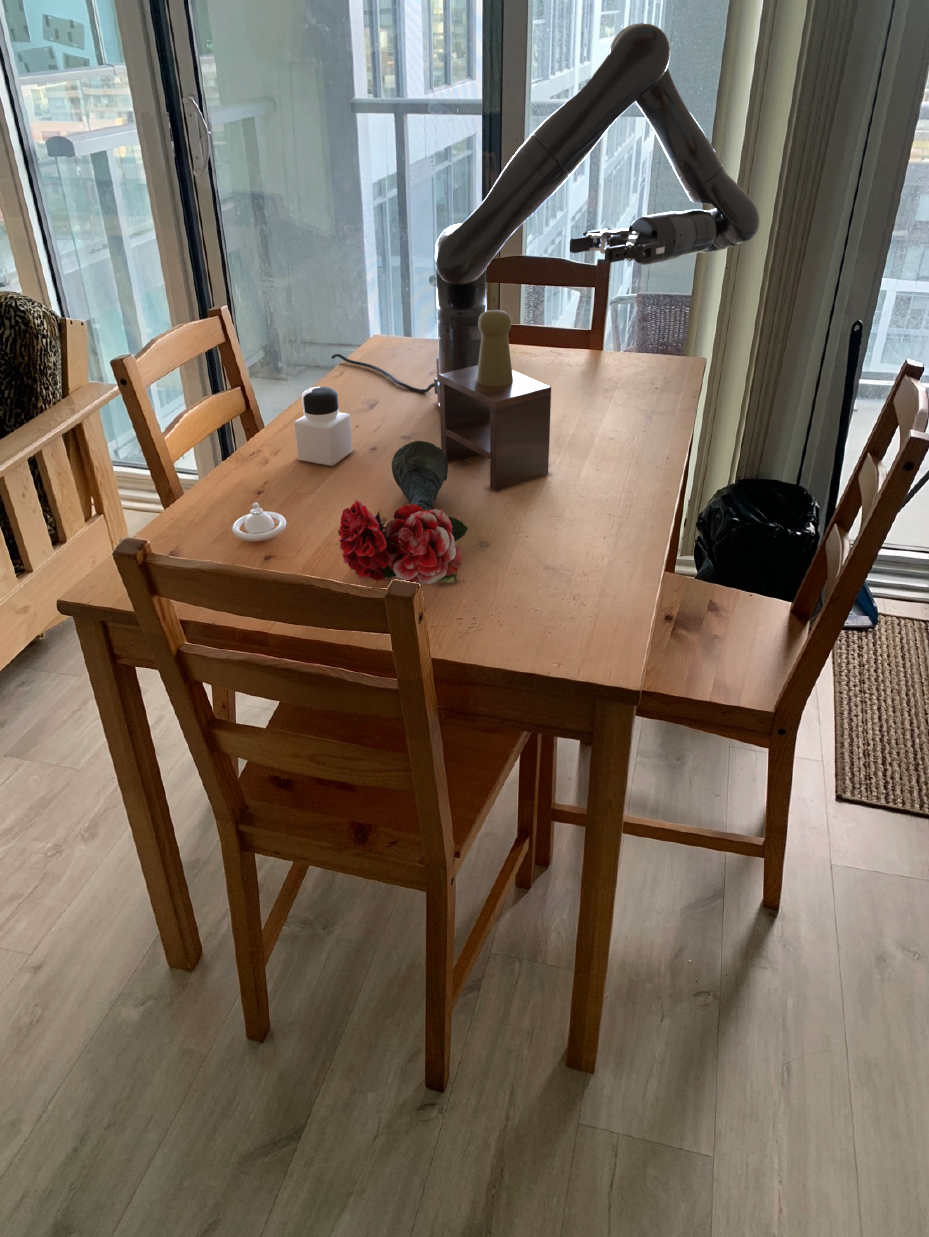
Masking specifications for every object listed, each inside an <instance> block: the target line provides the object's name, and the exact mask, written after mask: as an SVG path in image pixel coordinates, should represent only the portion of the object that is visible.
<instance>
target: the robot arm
mask: <svg viewBox="0 0 929 1237" xmlns="http://www.w3.org/2000/svg"><path fill="white" fill-rule="evenodd" d="M670 58H671V46H670V42H669V39H668V37H667V34H666V33H665V32H664V30H662V29H661V28H660V27H658V26H657V25H655V24H652V23H647V22H638V23H634V24H630V25H627V26H626V27H624V28H623V29H621V30H620V31H619V32H618V33H617V34H616V35H615V37H614V38H613V40H612V42H611V44H610V47H609V51H608V55H607V56H606V57H605V59H604V60H603V62H602V63H601V64H600V66H599V67H598V69H596V71H595V72H594V73H593V74H592V76H591V77H590V79H588V81H587V82H586V83H585V85H584V86H583V87H582V88H581V89H580V90H579V91H578V92H577V93H575V94H574V95H573V96H572V97H571V98H569V100H567V101H566V102H565V103H564V104H562V105H561V106H560V107H559V108H558V109H556V110H555V111H554V112H553V113H552V114H550V116H548V117H547V118H546V119H545V120H544V121H543V122H542V123H541V124H540V125H539V126H538V127H537V128H536V129H535V130H534V131H533V132H532V133H531V134H530V135H529V137H528V138H527V139H526V140H525V141H524V142H523V144H522V145H521V146H520V147H519V148H518V149H517V151H516V152H515V154H514V155H513V156H512V157H511V158H510V160H509V162H507V164H506V166H505V167H504V169H503V170H502V171H501V173H500V175H499V177H498V178H497V179H496V181H495V183H494V185H493V186H492V187H491V189H490V191H489V193H488V194H487V196H486V197H485V198H484V200H482V202H481V203H480V205H479V206H478V207H477V208H476V209H475V210H474V211H473V212H472V213H471V214H470V215H469V216H468V217H467V218H466V219H465V220H464V221H463V222H462V223H457V224H453V225H452V224H451V225H450V226H448V227H447V228H445V229H444V230H443V231H442V232H441V234H440V235H439V236H438V238H437V241H436V243H435V252H434V263H435V281H436V282H435V284H436V291H435V292H436V325H437V329H436V330H437V354H438V355H437V356H436V359H435V360H436V361H435V362H436V377H435V378H433V382H432V383H431V384H429V385H428V386H427V387H426V388H417V387H414V386H412V385H409V384H406V383H404V382H403V381H400V380H398V379H397V378H396V377H395V376H393V375H392V374H391V373H389V372H387V371H386V370H384V369H382V368H380V367H378V366H376V365H373V364H370V363H367V362H362V361H357V360H352V359H349V358H348V357H346V356H344V355H343V354H340V353H337V352H336V353H333V354H332V355H331V357H330V359H333V360H334V359H335V358H340V359H341V360H343V361H344V362H346V363H349V364H353V365H357V366H361V367H365V368H369V369H372V370H375V371H377V372H378V373H381V374H382V375H384V376H386V377H388V378H389V379H391V381H393V382H394V383H395V384H397V385H398V386H401V387H403V388H405V389H408V390H410V391H413V392H415V393H416V392H417V393H421V394H422V393H429V392H430V391H431V389H432V388H433V389H434V394H435V395H437V404H438V407H439V409H440V398H439V374H443V373H447V372H451V371H455V370H460V369H464V368H468V367H472V366H476V365H478V362H479V354H480V346H481V337H482V333H481V331H480V330H479V326H478V321H479V317H480V315H481V314H482V313H483V312H485V311H487V267H488V266H489V265H490V264H491V262H492V260H494V258H495V257H496V255H497V254H498V253H499V252H500V250H501V248H502V247H504V245H505V243H506V242H507V241H508V240H509V238H510V237H511V236H512V235H513V234H514V233H515V232H516V231H517V230H518V229H519V228H520V227H521V226H522V225H523V224H524V223H525V222H526V221H527V220H529V218H530V217H532V216H533V215H534V214H535V213H536V212H537V211H538V210H539V209H540V208H541V207H542V206H543V205H544V204H545V203H546V202H547V201H548V200H549V198H551V197H552V196H553V195H554V194H555V192H557V191H558V190H559V188H561V186H562V185H563V184H564V183H565V182H566V181H567V180H568V179H569V177H571V175H572V174H573V173H574V172H575V171H576V169H577V168H579V165H580V164H581V163H582V162H583V161H584V160H585V159H586V158H587V156H588V155H589V154H590V153H591V152H592V150H593V149H594V147H595V146H596V145H597V144H598V142H600V140H601V139H602V137H603V136H604V135H605V133H606V132H607V131H608V130H609V128H610V127H611V126H612V125H613V124H614V123H615V121H617V119H618V118H619V117H620V116H622V114H624V113H625V112H626V111H627V110H628V109H629V108H630V107H631V106H632V105H633V104H634V103H635V104H636V105H637V107H638V108H639V109H640V111H641V112H642V114H643V115H644V117H645V118H646V120H647V122H648V123H649V125H650V126H651V128H652V130H653V132H654V133H655V135H656V137H657V139H658V141H659V143H660V145H661V147H662V149H663V151H664V153H665V155H666V157H667V160H668V161H669V163H670V165H671V166H672V169H673V171H674V173H675V174H676V176H677V178H678V180H679V182H680V184H681V185H682V187H683V189H684V192H685V193H686V195H687V197H688V198H689V200H690V201H691V202H692V203H693V204H697V205H702V204H703V205H704V204H708V205H710V206H712V207H714V208H713V209H710V210H704V209H689V210H684V211H667V212H661V213H656V214H655V213H654V214H649V215H644V216H639V217H637V218H636V219H634V220H633V221H632V223H631V224H630V225H629V227H628V228H619V229H616V230H615V229H614V230H613V228H611V227H606V228H598V229H593V230H584V231H581V232H582V234H581V236H578V237H571V239H570V240H569V253H572V254H578V253H583V252H591V251H593V252H594V251H599V252H600V254H602V255H604V263H608V264H611V263H617V262H621V261H625V262H628V263H629V262H635V263H637V264H639V265H642V266H646V265H651V264H657V263H663V262H667V261H672V260H676V259H679V258H681V257H684V256H688V255H689V256H690V255H694V254H698V253H712V252H713V253H714V252H719V251H723V250H725V249H729V248H731V247H734V246H736V245H737V246H738V245H739V244H742V243H746V242H748V241H750V240H752V239H754V237H755V236H756V235H757V234H758V231H759V229H760V222H761V221H760V213H759V211H758V207H757V206H756V204H755V202H754V201H753V199H752V198H751V197H750V196H749V195H748V194H747V193H746V192H745V191H744V189H742V187H741V186H740V185H739V184H738V183H737V182H736V181H735V180H734V179H733V178H732V177H731V176H730V175H729V174H728V173H727V172H726V170H725V168H724V165H723V164H722V162H721V160H720V158H719V156H718V154H717V153H716V150H715V149H714V147H713V145H712V143H711V142H710V140H709V138H708V137H707V135H706V133H705V132H704V131H703V129H702V128H701V126H700V125H699V123H698V121H696V119H695V118H694V116H693V114H692V113H691V112H690V110H689V109H688V107H687V105H686V103H685V102H684V99H682V96H681V94H680V93H679V91H678V89H677V86H676V85H675V83H674V80H673V78H672V74H671V72H670V69H669V63H670ZM607 246H608V247H607Z"/></svg>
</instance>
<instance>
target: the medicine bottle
mask: <svg viewBox="0 0 929 1237" xmlns="http://www.w3.org/2000/svg"><path fill="white" fill-rule="evenodd" d="M338 396H339V395H338V392H337V390H336V389H335V388H332V387H328V386H314V387H313V386H312V387H309V388H307V389H306V390H304V391H303V392H302V394H301V404H302V409H303V410H302V411H303V416H302V417H299V418H298V419H297V420H294V422H293V426H294V434H295V442H296V451H297V458H298V460H299V461H303V462H308V463H313V464H319V465H324V466H329V467H333V466H335V465H336V464H338V463H339V462H340V461H342V460H343V459H345V458H346V457H347V456H348V455H351V453H353V451H354V449H353V437H352V426H351V424H352V423H351V416H350V414H349V413H345V412H340V408H339V406H340V405H339V397H338Z"/></svg>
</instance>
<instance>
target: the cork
mask: <svg viewBox="0 0 929 1237" xmlns="http://www.w3.org/2000/svg"><path fill="white" fill-rule="evenodd" d="M478 326H479V330H480V331H481V333H482V337H481V346H480V354H479V362H478V370H477V379H476V382H477V383H478V384H480V385H484V386H490V387H498V386H505V385H508V384H511V383H512V382H513V374H512V370H513V367H512V358H511V350H510V342H509V333H510V331H511V328H512V317H511V316H510V313H509V312H507V311H504V310H500V309H490V310H486V311H485V312H483V313H482V314H481V315H480V317H479V321H478Z"/></svg>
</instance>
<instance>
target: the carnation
mask: <svg viewBox="0 0 929 1237" xmlns="http://www.w3.org/2000/svg"><path fill="white" fill-rule="evenodd" d="M449 464H450V462H449V457H446V456H445V455H444V453H443V451H442V450H441V447H439V446H437V445H436V444H434V443H432V442H429V441H427V440H426V441H425V440H414V441H411V442H408V443H406V444H404V445H402V446H401V447H399V448H398V449H397V450H396V451H395V452H394V454H393V457H392V460H391V473H392V477H393V479H394V482H395V483H396V484H397V486H398V487H399V489H400V491H401V492H402V494H403V495H404V497H405V498H406V499H407V501H408V502H409V504H402V505H401V506H400V507H398V508H397V509H396V510H395V511H394V513H393V518H392V519H390V520H389V521H388V522H387V523H386V522H383V523H382V518H381V506H380V508H379V509H378V512H377V513H376V515H374V514H372V513H371V511H370V510H369V509H368V508H367V506H366V505H364V504H363V503H362V502H361V501H360V500H358V499H357V498H355V500H354V503H353V504H351V505H350V507H346V508H344V509H343V510H342V513H341V516H340V526H339V529H337V530H338V531H337V532H338V533H337V534H338V535H339V539H338V541H339V543H340V544H339V547H340V548H339V549H340V550H341V551H342V560H343V563H344V564H347V567H349V569H350V570H351V571H352V570H353V571H355V574H356V576H357V577H358V579H365V578H369V579H372V580H374V581H375V582H379V581H381V580H382V581H383V580H387V579H391V578H394V577H397V578H398V579H401V580H402V581H403V580H406V581H410V582H416V583H419V584H420V585H421V586H425V585H429V584H431V585H432V584H434V583H436V582H439V583H445V584H446V583H447V584H450V583H455V582H457V578H458V574H459V573H458V572H459V569H460V568H461V565H462V563H463V562H462V561H463V559H462V554H461V550H460V549H459V547H458V546H457V545H456V542H458V541H459V540H461V539H462V538H463V537H464V536H465V535H466V533H467V532H468V531H469V530H468V529H469V528H468V526H467V525H466V524H465V523H464V522H463V521H461V520H460V519H458V518H456V517H453V516H448V514H446V513H445V512H444V509H437V508H434V504H435V501H436V499H437V497H438V494H439V492H440V490H441V489H442V487H443V485H444V482H445V481H447V479H448V474H449ZM385 524H386V525H385ZM384 525H385V526H384Z"/></svg>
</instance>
